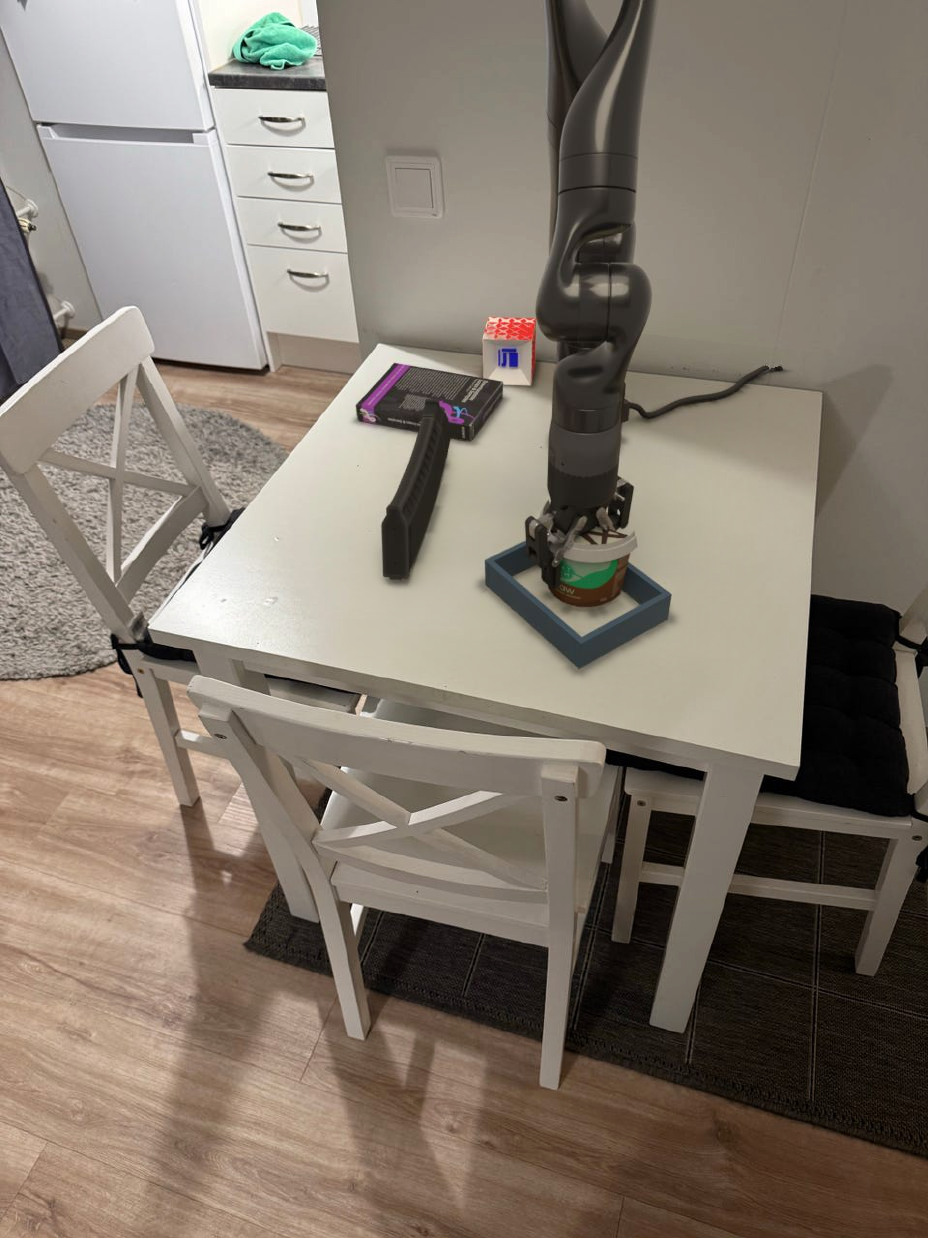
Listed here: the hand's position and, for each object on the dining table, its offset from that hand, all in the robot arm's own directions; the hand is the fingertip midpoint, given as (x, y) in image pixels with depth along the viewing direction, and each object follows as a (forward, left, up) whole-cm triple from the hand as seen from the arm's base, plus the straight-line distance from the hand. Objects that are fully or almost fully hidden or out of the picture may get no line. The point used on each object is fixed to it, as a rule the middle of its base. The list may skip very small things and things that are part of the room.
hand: (576, 571), depth 107 cm
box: (-11, -48, -5) cm, 50 cm away
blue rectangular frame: (0, 0, -4) cm, 4 cm away
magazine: (+5, -26, -5) cm, 27 cm away
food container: (0, 0, -4) cm, 4 cm away
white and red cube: (-28, -50, -5) cm, 58 cm away
